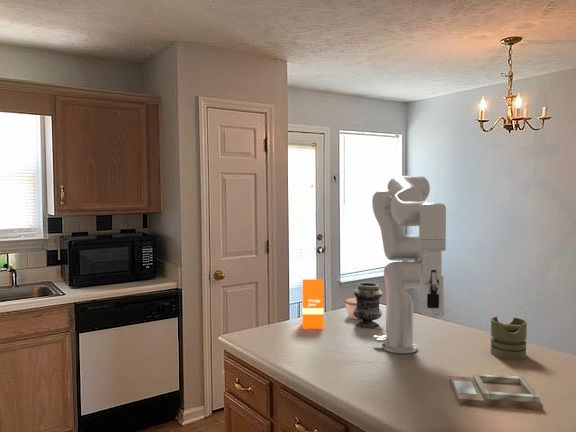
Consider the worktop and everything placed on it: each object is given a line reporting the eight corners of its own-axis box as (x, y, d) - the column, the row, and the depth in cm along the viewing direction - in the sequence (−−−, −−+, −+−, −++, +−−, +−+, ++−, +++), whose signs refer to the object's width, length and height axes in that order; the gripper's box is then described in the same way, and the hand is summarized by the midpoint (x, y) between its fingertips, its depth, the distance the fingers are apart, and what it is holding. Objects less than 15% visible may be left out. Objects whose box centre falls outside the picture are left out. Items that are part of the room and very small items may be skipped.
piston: (488, 315, 173) (521, 317, 171) (487, 348, 174) (520, 350, 172) (494, 324, 162) (530, 325, 160) (494, 358, 163) (530, 361, 161)
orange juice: (323, 328, 200) (323, 281, 199) (302, 328, 200) (302, 281, 199) (322, 323, 208) (322, 277, 207) (302, 323, 208) (302, 277, 207)
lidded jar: (344, 320, 213) (344, 299, 213) (345, 313, 224) (345, 294, 223) (369, 321, 211) (369, 300, 211) (369, 314, 222) (369, 294, 221)
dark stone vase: (375, 331, 196) (375, 287, 195) (348, 327, 202) (348, 284, 201) (386, 324, 206) (386, 282, 205) (360, 320, 212) (360, 280, 211)
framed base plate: (458, 404, 128) (458, 393, 128) (449, 380, 144) (449, 371, 144) (542, 410, 125) (543, 398, 124) (524, 385, 140) (524, 375, 140)
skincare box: (444, 316, 140) (445, 275, 139) (431, 318, 138) (432, 276, 137) (431, 311, 145) (432, 272, 145) (419, 313, 144) (419, 273, 143)
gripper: (417, 241, 150) (416, 297, 151) (421, 248, 133) (420, 311, 134) (442, 242, 148) (441, 298, 149) (449, 248, 131) (448, 312, 132)
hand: (431, 304), depth 142 cm, fingers closed on skincare box, 7 cm apart
